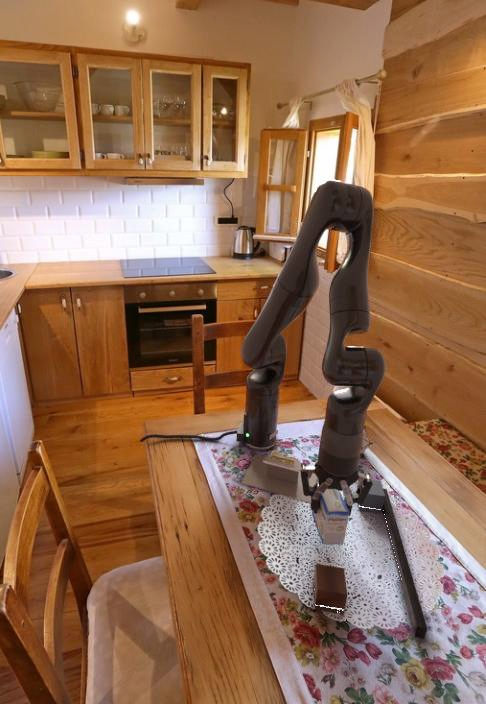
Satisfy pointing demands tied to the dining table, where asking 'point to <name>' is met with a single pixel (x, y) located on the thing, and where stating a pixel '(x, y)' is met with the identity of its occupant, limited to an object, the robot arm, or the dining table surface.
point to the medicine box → (331, 518)
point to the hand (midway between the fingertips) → (329, 512)
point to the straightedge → (404, 571)
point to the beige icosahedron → (365, 442)
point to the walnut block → (329, 588)
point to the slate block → (374, 498)
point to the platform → (278, 475)
